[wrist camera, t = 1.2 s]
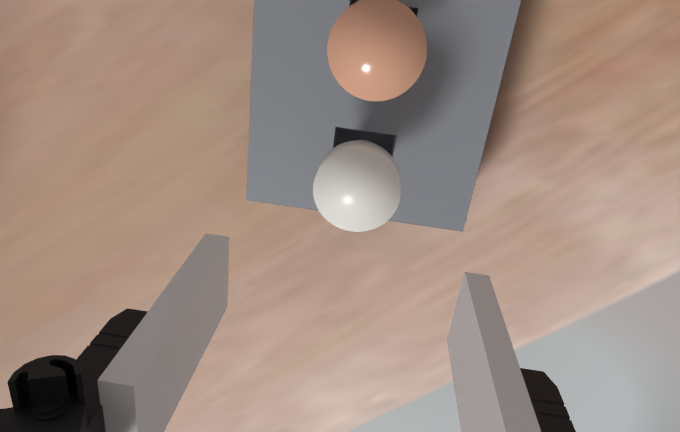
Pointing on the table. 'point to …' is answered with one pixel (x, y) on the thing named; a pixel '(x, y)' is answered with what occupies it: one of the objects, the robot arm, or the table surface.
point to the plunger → (357, 186)
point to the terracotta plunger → (377, 49)
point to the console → (376, 105)
